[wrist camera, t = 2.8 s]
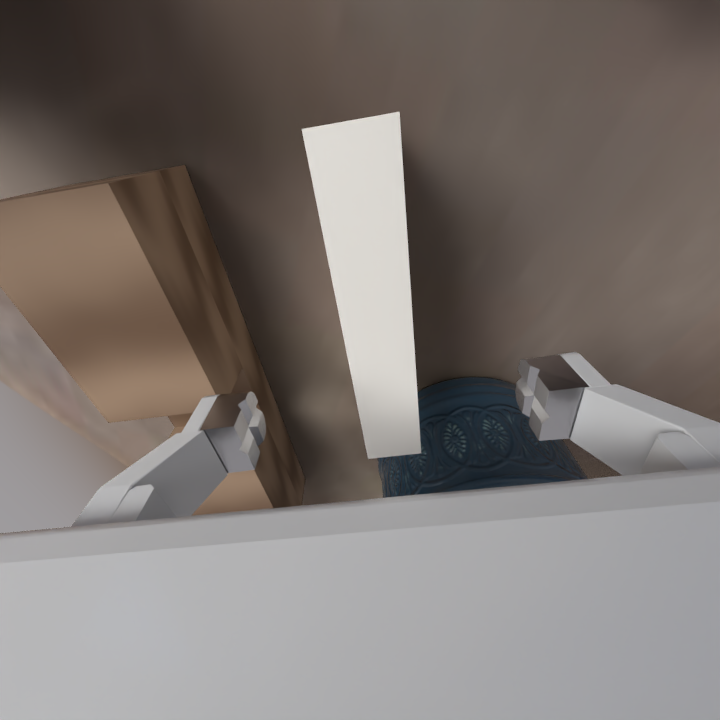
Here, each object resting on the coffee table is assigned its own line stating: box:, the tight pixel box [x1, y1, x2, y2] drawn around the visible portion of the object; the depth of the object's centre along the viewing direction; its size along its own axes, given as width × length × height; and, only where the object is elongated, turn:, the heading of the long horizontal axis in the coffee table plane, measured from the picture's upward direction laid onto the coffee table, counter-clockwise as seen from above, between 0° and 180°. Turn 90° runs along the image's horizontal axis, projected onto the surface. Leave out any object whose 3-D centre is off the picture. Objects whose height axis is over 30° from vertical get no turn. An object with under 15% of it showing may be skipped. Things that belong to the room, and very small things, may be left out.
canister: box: [378, 377, 588, 498], centre depth 20 cm, size 13×13×18 cm
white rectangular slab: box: [302, 112, 421, 459], centre depth 16 cm, size 13×2×8 cm, turn 8°
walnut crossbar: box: [0, 165, 305, 516], centre depth 20 cm, size 24×6×6 cm, turn 8°
